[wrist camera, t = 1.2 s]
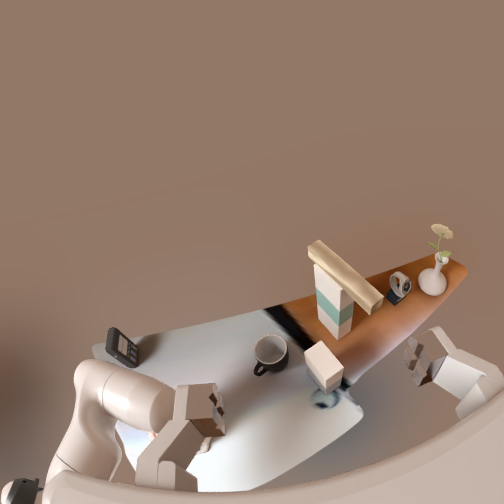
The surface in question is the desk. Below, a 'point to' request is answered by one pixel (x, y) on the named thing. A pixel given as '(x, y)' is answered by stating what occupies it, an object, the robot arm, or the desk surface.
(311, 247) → the batten
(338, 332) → the tower
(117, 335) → the card reader
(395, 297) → the watch
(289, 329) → the desk surface
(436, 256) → the flower in vase
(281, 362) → the mug
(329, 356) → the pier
